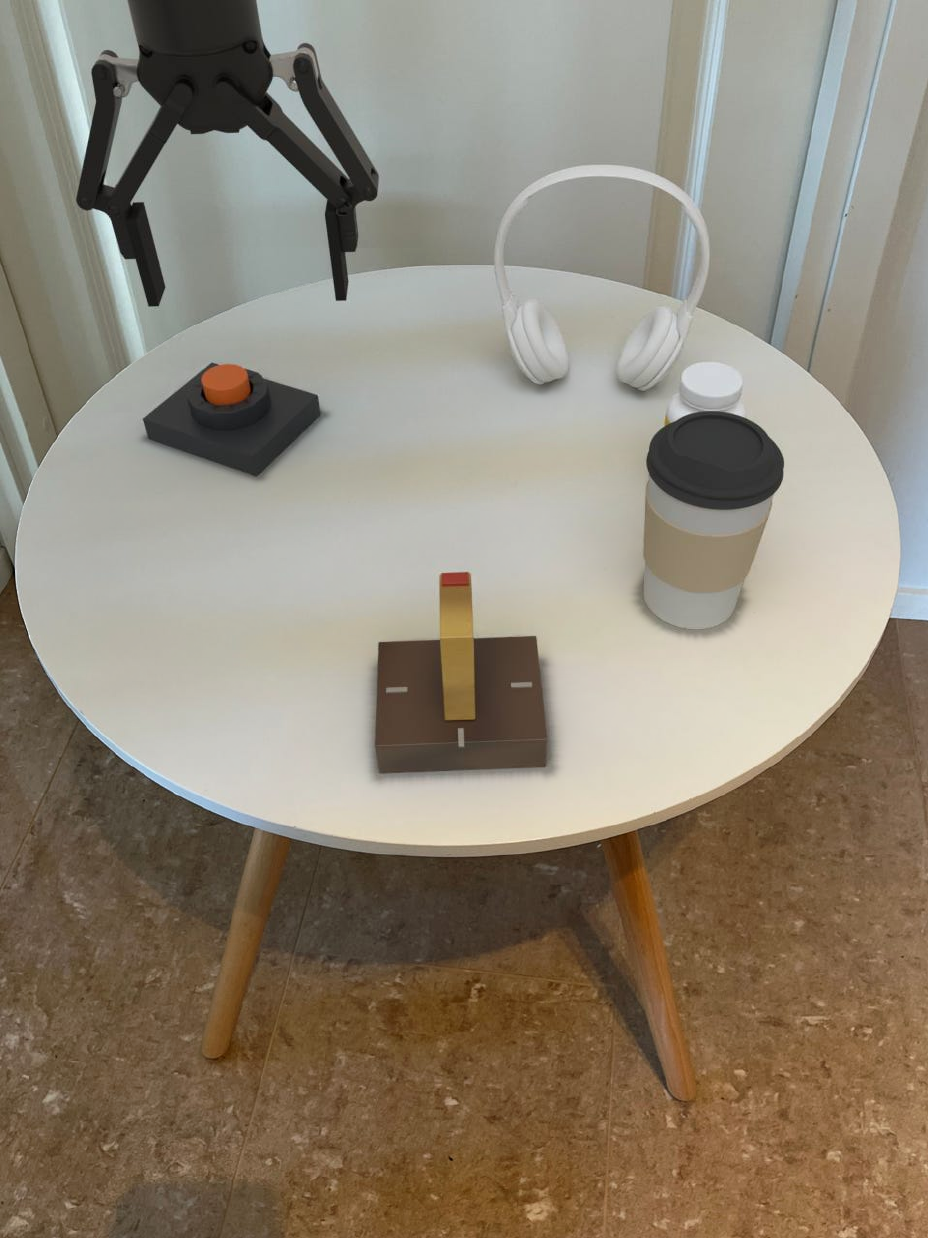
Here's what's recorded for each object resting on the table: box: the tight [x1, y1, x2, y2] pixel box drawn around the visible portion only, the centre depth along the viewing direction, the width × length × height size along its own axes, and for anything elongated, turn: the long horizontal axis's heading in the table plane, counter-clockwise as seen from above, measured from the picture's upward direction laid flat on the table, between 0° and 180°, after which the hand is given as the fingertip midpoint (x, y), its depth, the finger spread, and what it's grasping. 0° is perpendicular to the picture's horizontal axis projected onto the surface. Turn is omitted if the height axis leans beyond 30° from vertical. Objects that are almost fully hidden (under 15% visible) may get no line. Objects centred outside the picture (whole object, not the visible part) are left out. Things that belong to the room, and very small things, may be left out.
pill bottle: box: [664, 361, 747, 426], centre depth 84 cm, size 6×6×11 cm
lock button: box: [202, 363, 251, 405], centre depth 93 cm, size 4×4×2 cm
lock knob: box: [438, 571, 475, 720], centre depth 67 cm, size 6×2×8 cm, turn 1°
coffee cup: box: [642, 411, 785, 630], centre depth 74 cm, size 9×9×15 cm
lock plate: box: [374, 635, 548, 774], centre depth 71 cm, size 11×10×3 cm
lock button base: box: [142, 362, 322, 477], centre depth 95 cm, size 12×10×4 cm
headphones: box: [493, 164, 711, 391], centre depth 92 cm, size 7×18×20 cm, turn 82°
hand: (249, 294), depth 77 cm, fingers open, 13 cm apart
